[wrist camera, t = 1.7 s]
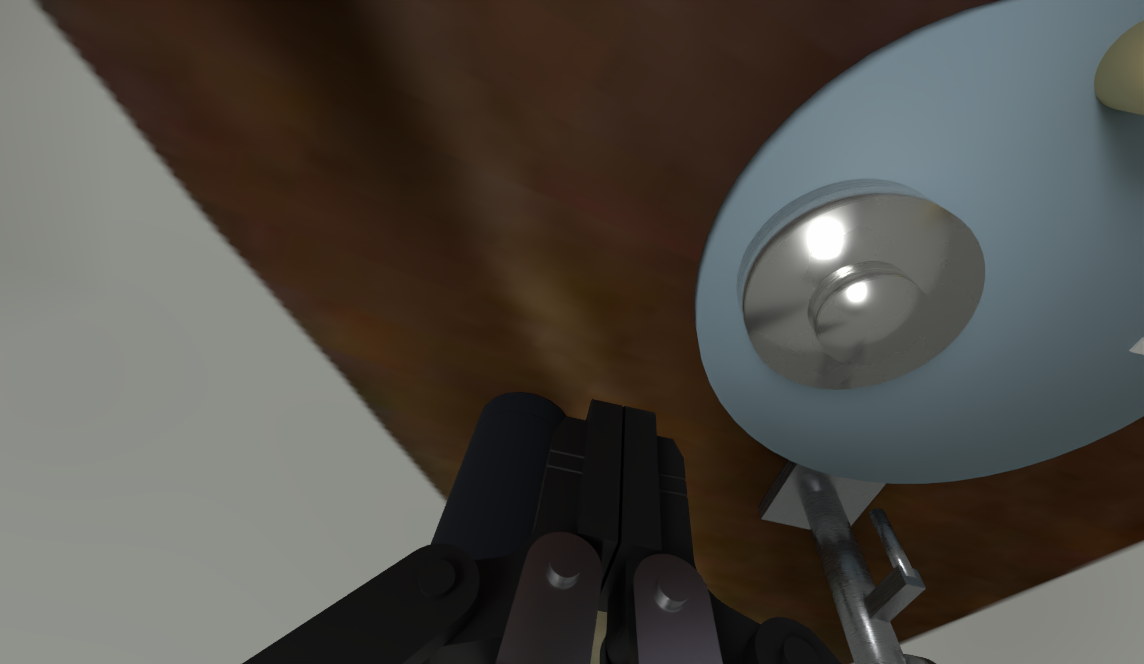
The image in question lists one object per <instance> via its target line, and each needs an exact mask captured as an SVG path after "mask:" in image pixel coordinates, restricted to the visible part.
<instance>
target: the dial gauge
mask: <svg viewBox="0 0 1144 664" xmlns="http://www.w3.org/2000/svg"><path fill="white" fill-rule="evenodd" d="M885 484H886V483H878V482H866V481H860V480H854V479H848V478H842V477H838V476H834V475H830V474H827V473H823V472H819V471H816V470H813V469H810V468H808V467H805V466H802V465H800V464H797V463H795V462H792V461H790V460H788V462H787V463H786V465H785V467H784V468H783V470H782V471H781V473H780V474H779V476H778V478H777V479H776V481H775V482H774V484H773V485H772V487H771V489H770V490H769V492H768V493H767V495H766V496H765V498H764V500H763V501H762V503H761V504H760V506H759V512H760V516H761V519H764V520H768V521H773V522H777V523H782V524H787V525H791V526H796V527H800V528H805V529H810V530H811V532H812V535H813V538H814V541H815V544H816V547H817V550H818V553H819V556H820V559H821V562H822V565H823V568H824V571H825V574H826V578H827V581H828V584H829V587H830V590H831V593H832V596H833V599H834V602H835V605H836V608H837V611H838V614H839V617H840V620H841V623H842V626H843V629H844V632H845V635H846V638H847V641H848V644H849V647H850V650H851V653H852V657H853V660H854V663H855V664H936V663H934V662H933V661H931V660H929V659H926V658H922V657H918V656H913V655H908V654H903V652H902V650H901V647H900V645H899V643H898V640H897V638H896V635H895V633H894V630H893V628H892V625H891V623H890V621H891V620H892V619H893V618H894V617H895V616H896V615H897V614H898V613H899V612H901V611H902V610H903V609H904V608H905V607H906V606H907V605H908V604H909V603H910V602H912V601H913V600H914V599H915V598H916V597H917V596H918V595H919V594H920V593H921V592H922V591H924V590H925V589H926V587H925V585H924V583H923V581H922V579H921V577H920V575H919V573H918V571H917V569H913V568H912V567H911V565H910V563H909V561H908V559H907V557H906V555H905V553H904V551H903V549H902V547H901V545H900V542H899V540H898V538H897V536H896V534H895V532H894V530H893V528H892V526H891V524H890V522H889V520H888V518H887V516H886V514H885V512H884V510H883V509H879V508H877V509H873V510H871V511H870V512H869V515H870V517H871V519H872V522H873V524H874V526H875V528H876V530H877V533H878V535H879V537H880V539H881V541H882V544H883V546H884V548H885V550H886V552H887V555H888V557H889V559H890V561H891V564H892V566H893V568H894V569H893V570H892V571H891V572H890V573H889V574H888V575H887V576H886V577H885V578H884V579H883V580H882V582H881V583H880V584H879V585H878V586H877V587H876V586H875V584H874V581H873V579H872V576H871V574H870V572H869V569H868V567H867V564H866V562H865V559H864V557H863V554H862V552H861V550H860V547H859V545H858V542H857V540H856V537H855V535H854V532H853V530H852V528H851V525H852V524H853V523H854V522H855V520H856V519H857V518H858V517H859V516H860V514H861V513H862V512H863V511H864V510H865V508H866V507H867V506H868V505H869V504H870V502H871V501H872V500H873V499H874V498H875V496H876V495H877V494H878V493H879V492H880V490H881V489H882V488H883V487H884V486H885Z"/></svg>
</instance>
